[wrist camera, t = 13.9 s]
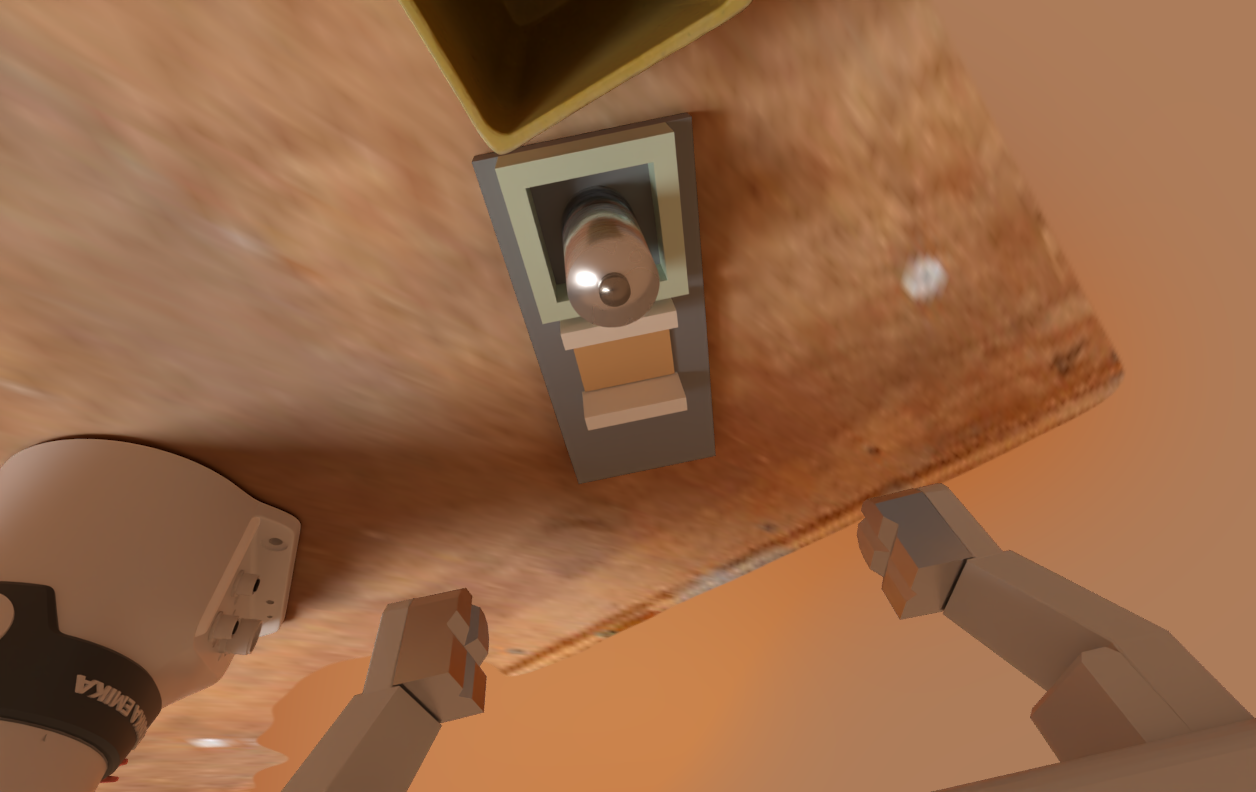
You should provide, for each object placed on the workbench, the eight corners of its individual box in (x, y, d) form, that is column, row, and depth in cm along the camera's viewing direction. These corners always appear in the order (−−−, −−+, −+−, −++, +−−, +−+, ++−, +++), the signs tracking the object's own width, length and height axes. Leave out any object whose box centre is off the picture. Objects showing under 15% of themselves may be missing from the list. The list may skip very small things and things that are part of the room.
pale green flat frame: (680, 276, 28) (688, 293, 26) (542, 305, 28) (542, 324, 26) (665, 122, 23) (673, 131, 21) (498, 156, 23) (494, 168, 21)
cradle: (678, 384, 32) (687, 410, 30) (585, 403, 32) (588, 430, 30) (667, 288, 28) (676, 310, 26) (559, 310, 28) (560, 334, 26)
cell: (624, 265, 27) (647, 340, 21) (554, 251, 26) (558, 326, 20) (643, 195, 25) (674, 257, 19) (568, 177, 24) (577, 236, 18)
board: (712, 446, 37) (715, 455, 37) (578, 473, 37) (578, 483, 37) (686, 112, 24) (691, 116, 23) (474, 156, 24) (471, 161, 23)
